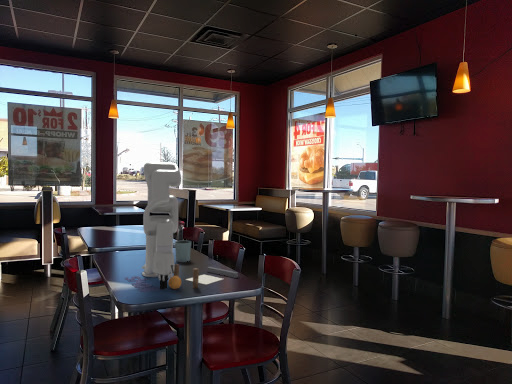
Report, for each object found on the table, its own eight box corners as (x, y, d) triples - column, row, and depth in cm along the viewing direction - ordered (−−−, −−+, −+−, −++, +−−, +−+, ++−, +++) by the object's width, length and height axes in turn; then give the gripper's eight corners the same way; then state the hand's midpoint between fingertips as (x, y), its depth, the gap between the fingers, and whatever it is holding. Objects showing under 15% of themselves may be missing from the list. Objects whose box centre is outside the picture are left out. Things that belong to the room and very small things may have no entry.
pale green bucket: (192, 259, 248) (193, 240, 247) (188, 262, 238) (188, 243, 237) (177, 258, 249) (177, 240, 248) (172, 261, 239) (172, 242, 238)
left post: (172, 282, 191) (172, 264, 191) (176, 281, 193) (176, 264, 193) (176, 283, 190) (176, 265, 190) (179, 282, 192) (180, 264, 192)
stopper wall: (207, 271, 216) (207, 267, 216) (209, 271, 218) (209, 266, 217) (235, 277, 205) (235, 273, 205) (237, 277, 206) (237, 272, 206)
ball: (174, 272, 185) (177, 284, 186) (164, 278, 180) (167, 290, 182) (182, 274, 181) (185, 286, 182) (172, 280, 177) (175, 292, 178)
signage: (123, 277, 197) (142, 275, 203) (123, 278, 197) (142, 276, 203) (140, 291, 174) (161, 288, 180) (140, 293, 174) (161, 290, 180)
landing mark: (185, 279, 198) (185, 279, 198) (203, 274, 209) (203, 274, 209) (206, 284, 190) (206, 284, 190) (223, 279, 201) (224, 278, 201)
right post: (191, 287, 184) (192, 269, 184) (195, 286, 186) (195, 268, 186) (195, 288, 182) (196, 269, 182) (199, 287, 185) (199, 268, 184)
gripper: (146, 247, 177) (146, 287, 177) (169, 252, 168) (168, 293, 169) (159, 245, 183) (158, 284, 184) (182, 249, 175) (181, 290, 175)
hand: (163, 288), depth 176 cm, fingers closed
